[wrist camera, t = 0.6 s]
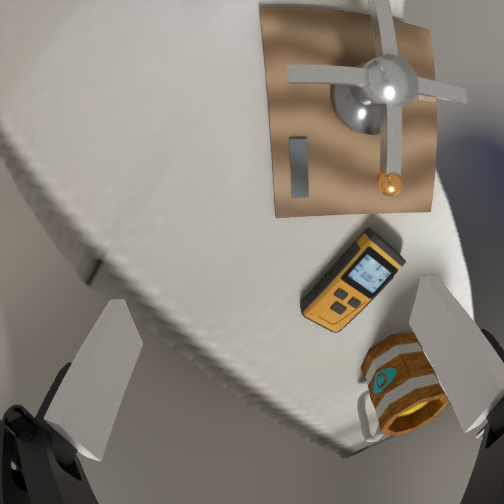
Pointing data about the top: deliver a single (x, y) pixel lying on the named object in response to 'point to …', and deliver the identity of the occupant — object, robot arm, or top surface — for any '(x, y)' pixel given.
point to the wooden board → (331, 128)
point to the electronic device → (352, 282)
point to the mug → (400, 387)
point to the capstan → (377, 94)
